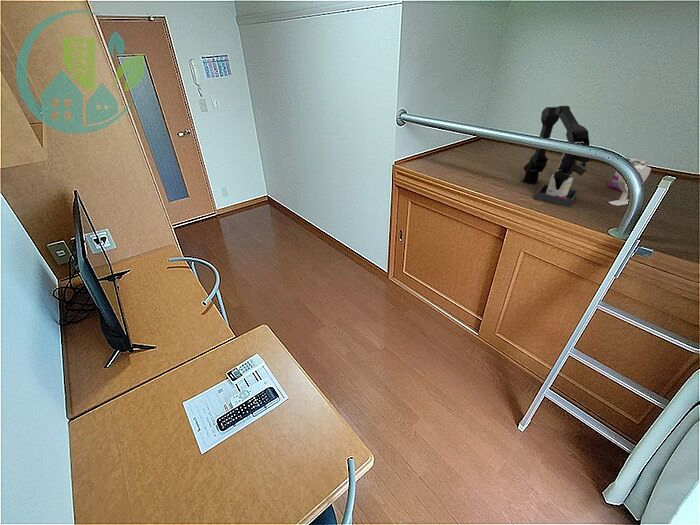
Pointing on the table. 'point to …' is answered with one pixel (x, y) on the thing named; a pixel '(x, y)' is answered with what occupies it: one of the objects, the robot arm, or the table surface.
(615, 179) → the candy bar box
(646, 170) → the heart sculpture
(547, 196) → the dark grey tray frame
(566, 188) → the ink box
